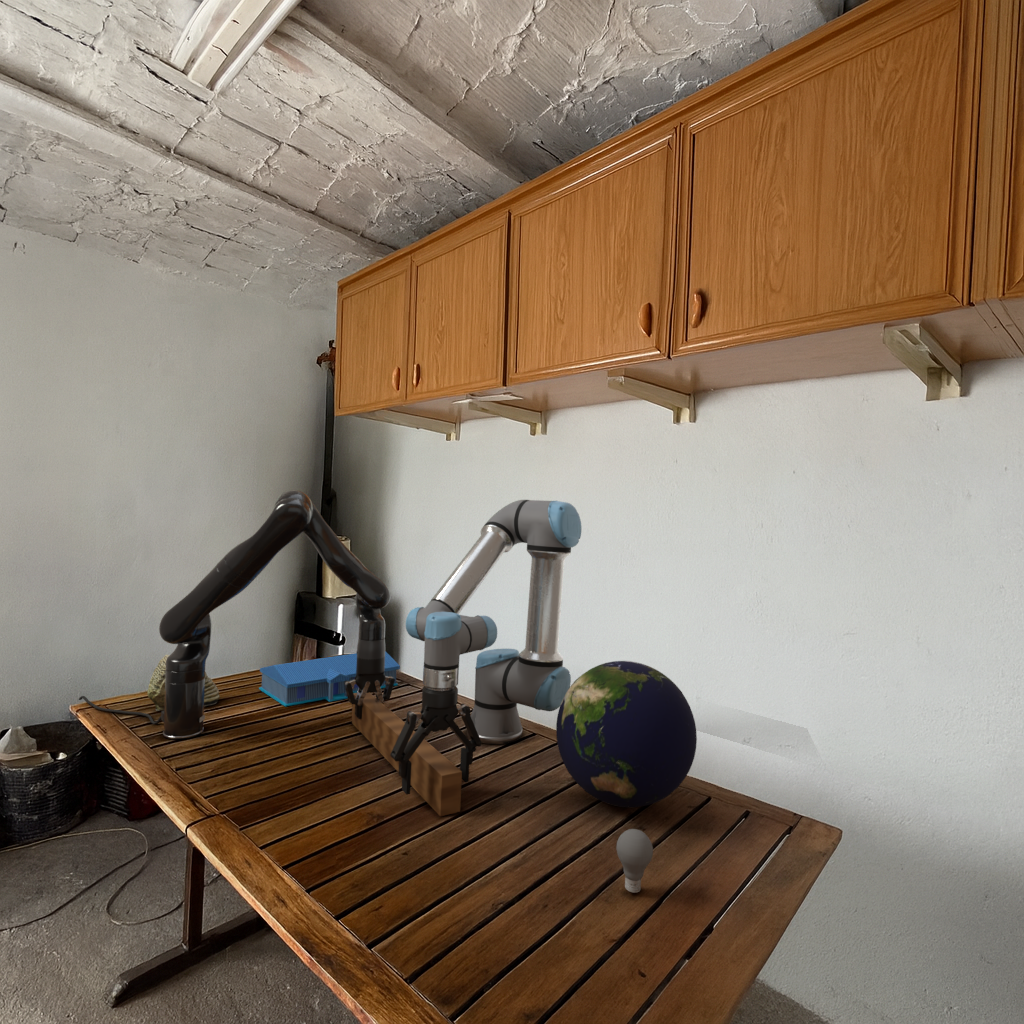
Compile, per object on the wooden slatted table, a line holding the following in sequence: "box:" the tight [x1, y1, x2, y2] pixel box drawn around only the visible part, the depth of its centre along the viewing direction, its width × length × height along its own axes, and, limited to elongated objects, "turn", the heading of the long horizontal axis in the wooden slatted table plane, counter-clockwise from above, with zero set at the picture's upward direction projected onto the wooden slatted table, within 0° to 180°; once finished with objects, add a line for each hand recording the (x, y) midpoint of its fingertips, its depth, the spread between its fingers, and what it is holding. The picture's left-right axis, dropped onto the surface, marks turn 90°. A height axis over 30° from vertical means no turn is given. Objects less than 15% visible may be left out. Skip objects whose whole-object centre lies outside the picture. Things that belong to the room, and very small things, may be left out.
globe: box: [555, 660, 698, 809], centre depth 138 cm, size 30×30×30 cm
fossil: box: [147, 654, 221, 712], centre depth 185 cm, size 9×18×15 cm, turn 132°
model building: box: [258, 650, 401, 707], centre depth 208 cm, size 39×24×10 cm, turn 132°
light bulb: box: [615, 828, 654, 894], centre depth 106 cm, size 6×6×10 cm
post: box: [351, 692, 463, 817], centre depth 154 cm, size 59×4×8 cm, turn 32°
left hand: (368, 716), depth 172 cm, fingers closed on post, 4 cm apart
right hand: (435, 785), depth 135 cm, fingers open, 13 cm apart
